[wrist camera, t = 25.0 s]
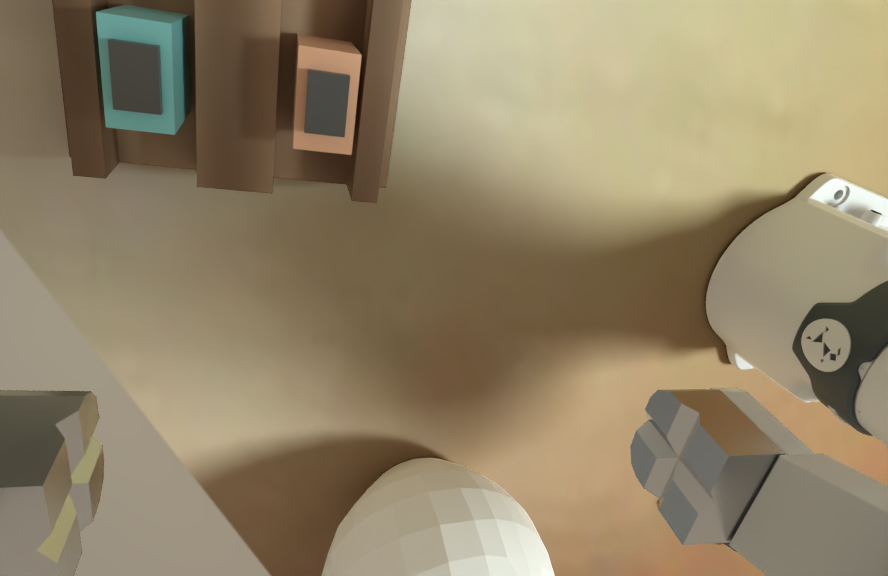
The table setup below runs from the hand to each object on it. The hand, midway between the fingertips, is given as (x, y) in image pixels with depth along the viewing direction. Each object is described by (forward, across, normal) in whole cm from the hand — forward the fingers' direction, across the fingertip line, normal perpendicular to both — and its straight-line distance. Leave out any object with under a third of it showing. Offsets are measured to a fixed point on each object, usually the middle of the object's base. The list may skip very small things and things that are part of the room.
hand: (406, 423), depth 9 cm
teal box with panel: (+30, +8, 0) cm, 31 cm away
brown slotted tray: (+31, +4, 0) cm, 31 cm away
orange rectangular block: (+30, 0, 0) cm, 30 cm away
